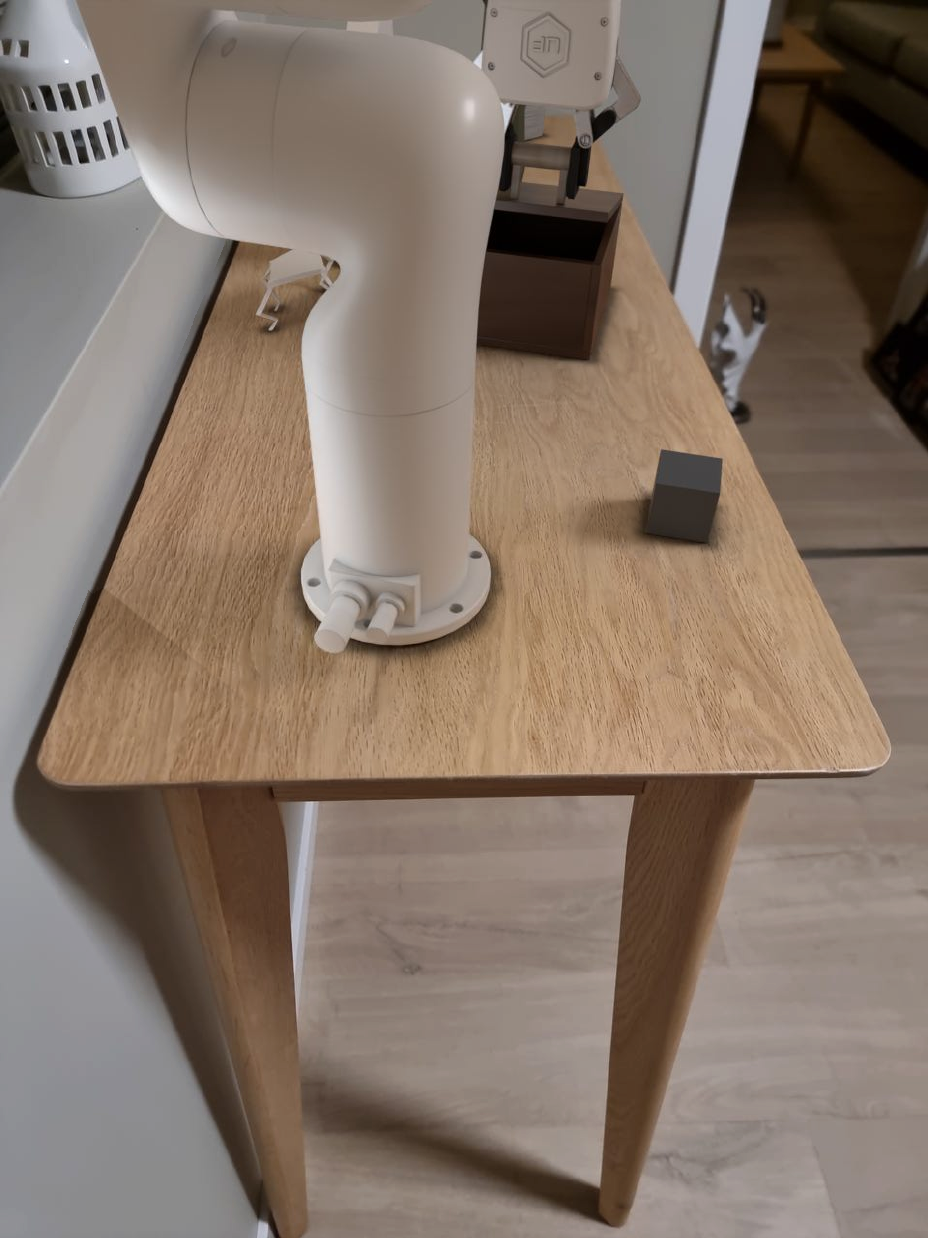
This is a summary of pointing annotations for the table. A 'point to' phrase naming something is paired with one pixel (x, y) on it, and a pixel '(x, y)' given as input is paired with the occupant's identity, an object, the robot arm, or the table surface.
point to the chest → (546, 282)
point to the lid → (552, 188)
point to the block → (685, 496)
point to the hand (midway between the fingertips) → (539, 187)
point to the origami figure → (292, 274)
